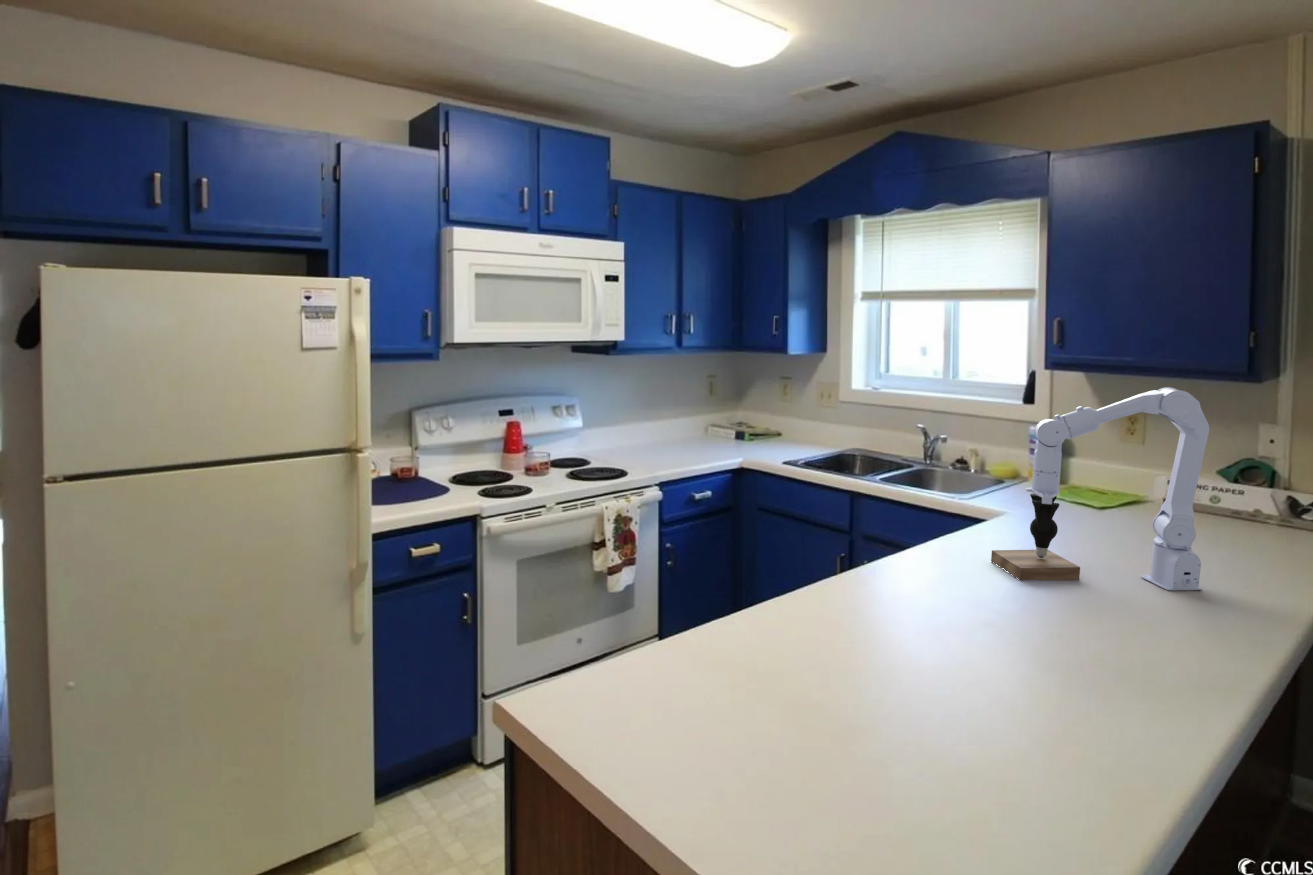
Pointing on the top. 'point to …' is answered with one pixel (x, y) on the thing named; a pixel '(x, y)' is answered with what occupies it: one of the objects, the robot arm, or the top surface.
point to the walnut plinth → (1035, 565)
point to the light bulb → (1043, 537)
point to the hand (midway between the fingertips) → (1042, 527)
